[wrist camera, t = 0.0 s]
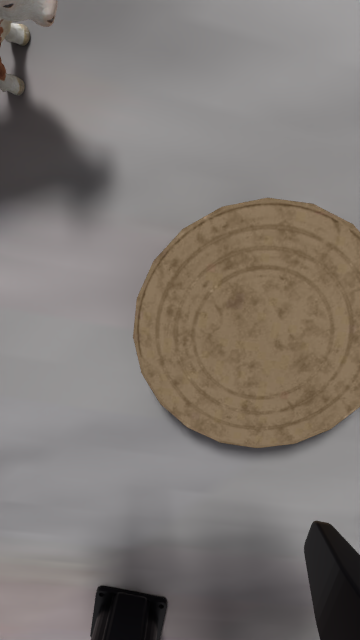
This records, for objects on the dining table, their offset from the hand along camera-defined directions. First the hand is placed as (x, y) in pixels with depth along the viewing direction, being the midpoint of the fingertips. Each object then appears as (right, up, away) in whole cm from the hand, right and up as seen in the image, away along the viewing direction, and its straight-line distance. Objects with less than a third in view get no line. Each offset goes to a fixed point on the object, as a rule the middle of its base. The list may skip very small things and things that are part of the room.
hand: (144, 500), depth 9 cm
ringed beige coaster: (+6, +5, +14) cm, 16 cm away
